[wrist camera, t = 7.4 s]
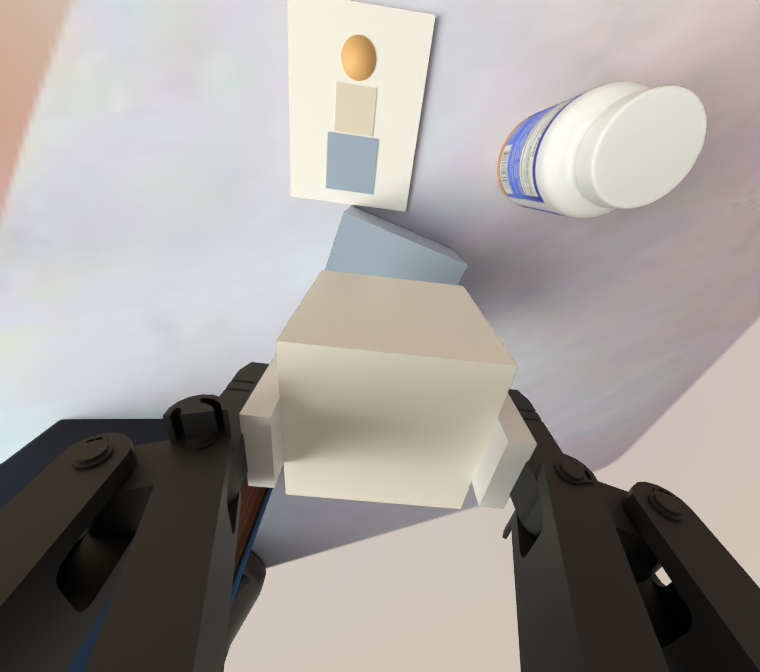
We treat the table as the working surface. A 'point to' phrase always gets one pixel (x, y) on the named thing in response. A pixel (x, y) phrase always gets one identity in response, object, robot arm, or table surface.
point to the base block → (390, 251)
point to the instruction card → (355, 100)
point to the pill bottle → (603, 150)
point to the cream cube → (388, 390)
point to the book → (39, 453)
